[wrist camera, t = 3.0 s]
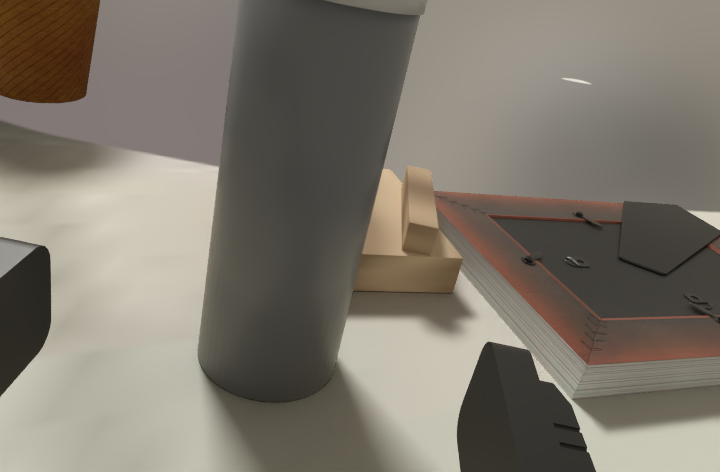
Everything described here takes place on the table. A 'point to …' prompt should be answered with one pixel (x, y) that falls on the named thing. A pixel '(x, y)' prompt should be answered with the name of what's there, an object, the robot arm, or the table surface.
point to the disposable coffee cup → (46, 49)
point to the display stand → (407, 239)
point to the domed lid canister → (298, 185)
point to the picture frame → (596, 287)
